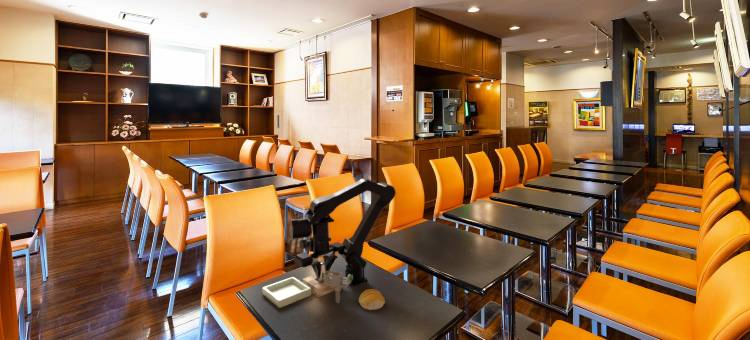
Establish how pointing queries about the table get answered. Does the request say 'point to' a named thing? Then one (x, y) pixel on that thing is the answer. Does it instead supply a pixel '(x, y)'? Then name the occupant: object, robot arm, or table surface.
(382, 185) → the robot arm
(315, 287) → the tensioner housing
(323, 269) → the pin
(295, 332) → the table surface
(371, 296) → the bread roll
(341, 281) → the mechanical component
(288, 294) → the parts tray
